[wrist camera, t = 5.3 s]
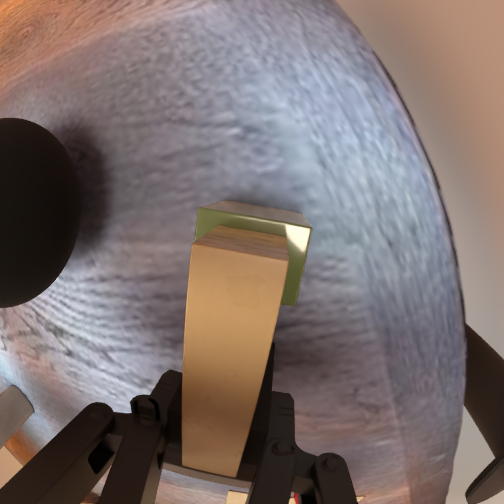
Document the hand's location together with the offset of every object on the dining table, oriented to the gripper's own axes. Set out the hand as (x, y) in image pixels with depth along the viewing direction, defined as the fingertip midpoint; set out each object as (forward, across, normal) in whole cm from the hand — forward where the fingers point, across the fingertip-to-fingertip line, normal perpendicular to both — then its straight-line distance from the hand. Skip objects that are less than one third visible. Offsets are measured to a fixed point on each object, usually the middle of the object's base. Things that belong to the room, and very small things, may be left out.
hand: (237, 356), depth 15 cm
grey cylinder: (+1, -26, -18) cm, 32 cm away
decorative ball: (+1, -13, +7) cm, 15 cm away
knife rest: (+1, 0, +7) cm, 7 cm away
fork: (0, 0, -2) cm, 2 cm away
